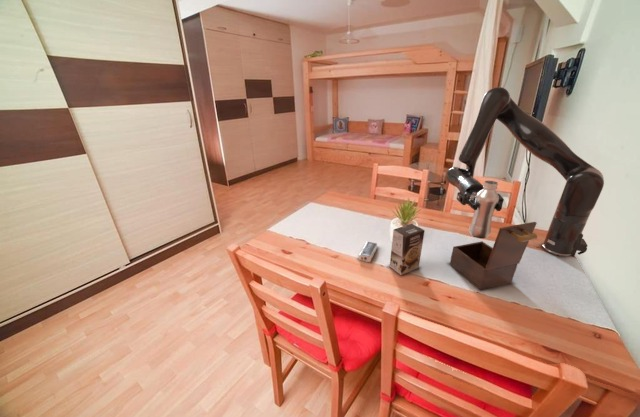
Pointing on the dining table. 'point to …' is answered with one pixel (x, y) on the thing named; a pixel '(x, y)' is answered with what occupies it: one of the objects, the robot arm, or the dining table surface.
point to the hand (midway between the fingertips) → (487, 207)
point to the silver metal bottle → (484, 210)
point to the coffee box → (406, 248)
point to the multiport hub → (368, 251)
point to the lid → (510, 245)
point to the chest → (480, 266)
